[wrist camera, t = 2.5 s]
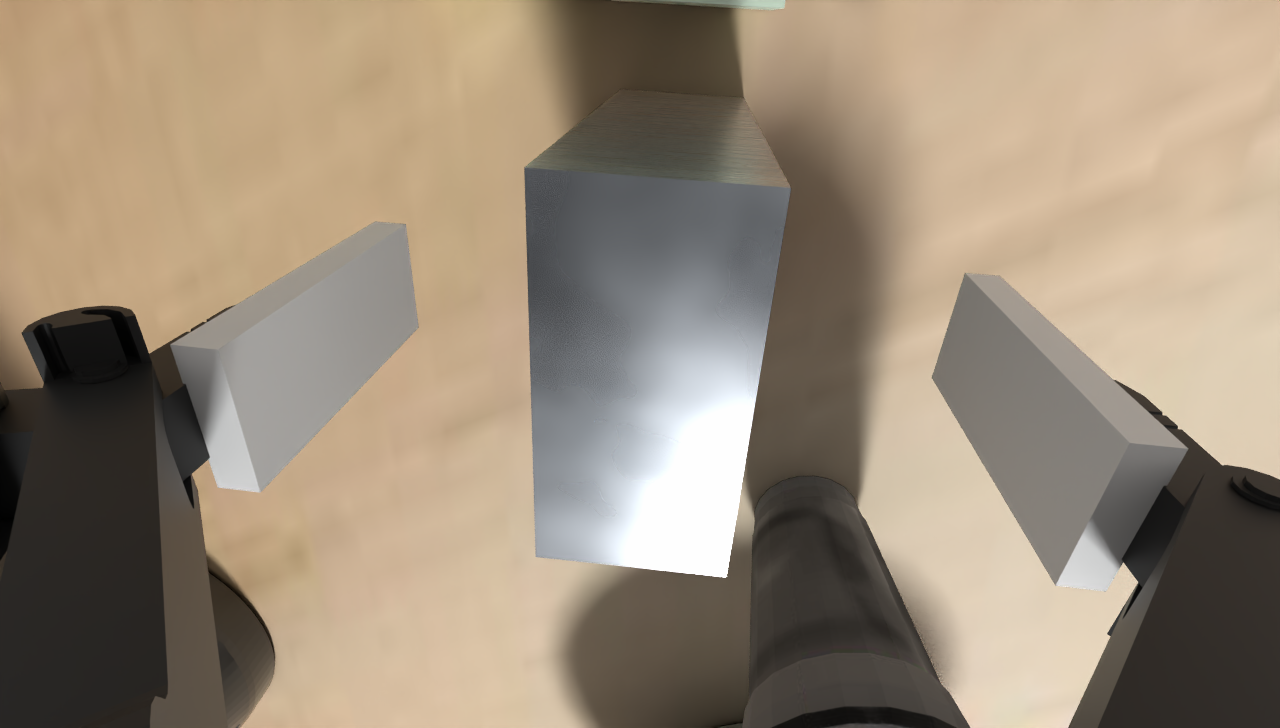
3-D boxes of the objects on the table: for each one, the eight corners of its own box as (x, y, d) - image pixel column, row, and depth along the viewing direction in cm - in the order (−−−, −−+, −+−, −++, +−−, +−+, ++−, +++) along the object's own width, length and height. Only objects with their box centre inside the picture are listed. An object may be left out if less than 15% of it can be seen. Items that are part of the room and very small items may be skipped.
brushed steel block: (612, 313, 25) (535, 557, 13) (621, 89, 21) (524, 167, 10) (715, 322, 25) (726, 577, 13) (743, 97, 21) (791, 187, 9)
